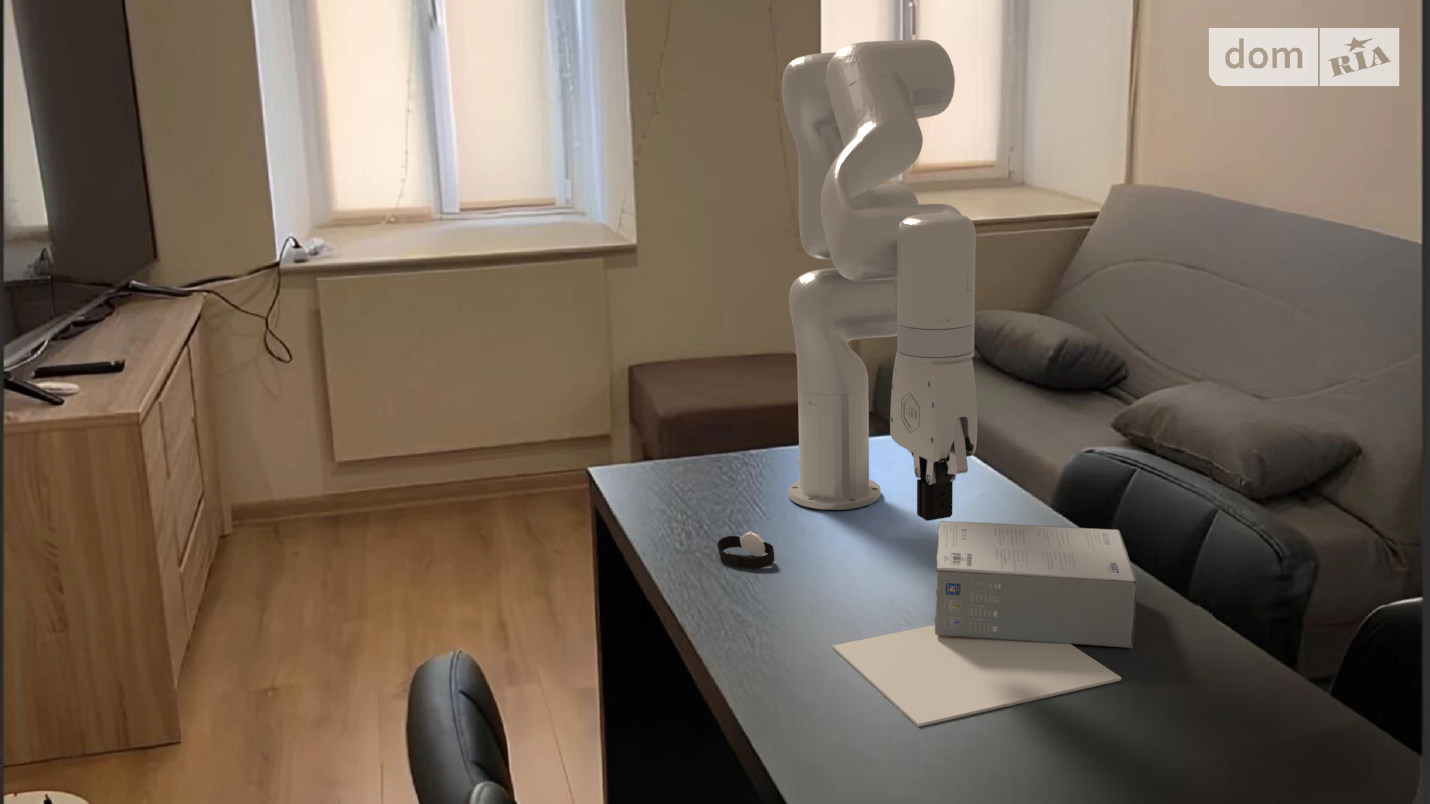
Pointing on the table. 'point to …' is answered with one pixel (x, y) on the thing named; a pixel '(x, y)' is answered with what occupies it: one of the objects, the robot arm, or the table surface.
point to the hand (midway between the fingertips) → (934, 516)
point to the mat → (968, 672)
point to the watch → (752, 546)
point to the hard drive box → (1034, 584)
